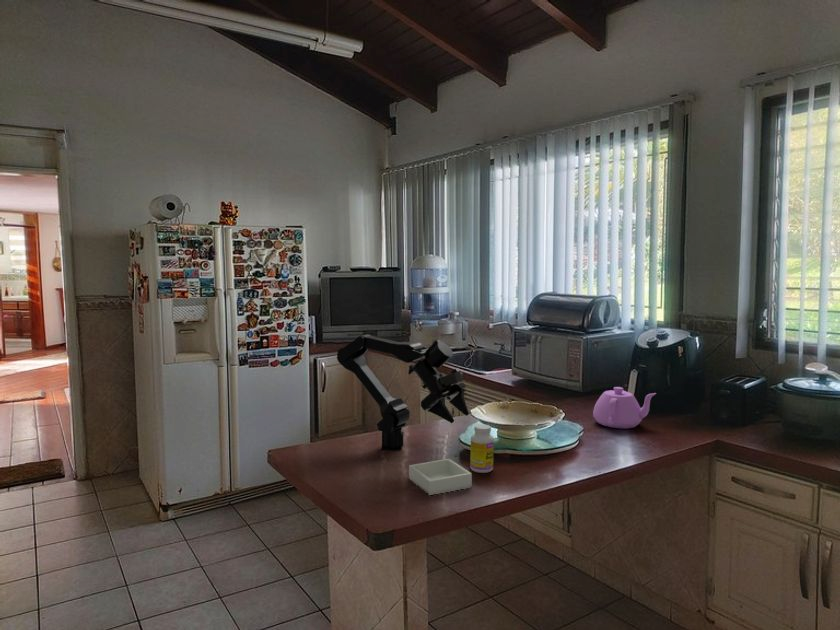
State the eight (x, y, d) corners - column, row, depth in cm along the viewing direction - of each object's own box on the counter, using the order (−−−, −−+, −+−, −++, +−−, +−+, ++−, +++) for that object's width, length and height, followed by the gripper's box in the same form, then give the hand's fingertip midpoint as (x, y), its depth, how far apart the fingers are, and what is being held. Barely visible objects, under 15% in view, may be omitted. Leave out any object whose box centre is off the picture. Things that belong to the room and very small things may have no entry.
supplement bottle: (487, 475, 165) (487, 431, 163) (466, 470, 168) (466, 427, 167) (496, 468, 170) (497, 425, 169) (476, 463, 174) (477, 421, 173)
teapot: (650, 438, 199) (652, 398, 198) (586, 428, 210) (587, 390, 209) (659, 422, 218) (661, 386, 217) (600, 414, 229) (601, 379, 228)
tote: (409, 479, 162) (409, 465, 161) (448, 472, 167) (448, 458, 167) (429, 496, 150) (429, 481, 150) (471, 487, 156) (471, 473, 155)
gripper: (430, 365, 166) (463, 410, 162) (461, 356, 182) (492, 396, 178) (407, 388, 172) (438, 432, 167) (439, 377, 187) (468, 417, 183)
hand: (460, 418), depth 173 cm, fingers open, 9 cm apart
